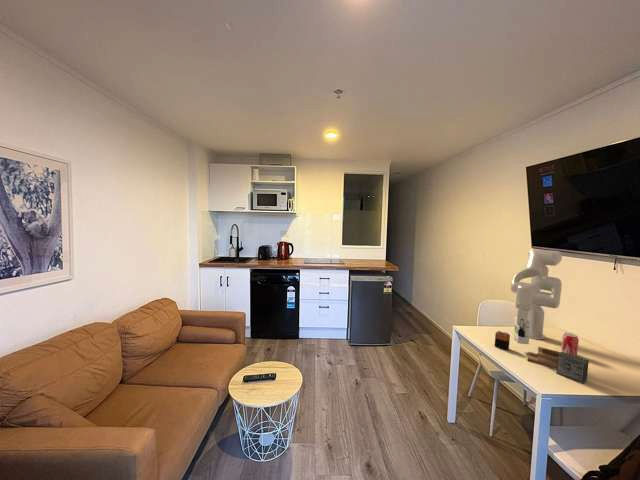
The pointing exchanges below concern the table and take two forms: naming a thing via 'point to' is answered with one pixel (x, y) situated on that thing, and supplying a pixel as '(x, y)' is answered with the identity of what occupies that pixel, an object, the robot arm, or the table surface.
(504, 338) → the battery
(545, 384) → the table surface
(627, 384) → the table surface
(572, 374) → the small box
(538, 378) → the table surface
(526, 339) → the syrup box
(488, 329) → the table surface
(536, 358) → the socket
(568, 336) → the soda can
